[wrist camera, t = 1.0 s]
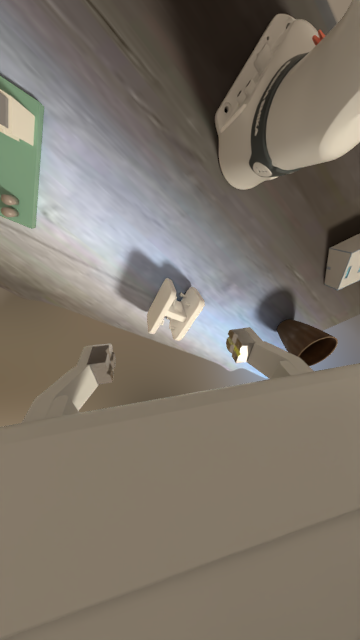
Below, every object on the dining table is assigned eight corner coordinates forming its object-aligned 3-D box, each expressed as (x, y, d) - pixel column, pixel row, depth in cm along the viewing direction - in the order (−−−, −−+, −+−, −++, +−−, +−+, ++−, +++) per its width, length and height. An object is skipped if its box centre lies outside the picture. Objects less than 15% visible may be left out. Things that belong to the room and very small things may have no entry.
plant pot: (303, 327, 74) (337, 353, 61) (272, 344, 77) (299, 372, 64) (299, 305, 66) (338, 329, 53) (265, 324, 68) (294, 352, 55)
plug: (-5, 90, 25) (-44, 60, 20) (34, 116, 27) (9, 94, 22) (-5, 128, 27) (-40, 109, 22) (33, 149, 29) (9, 137, 24)
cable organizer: (166, 272, 48) (173, 288, 39) (196, 286, 52) (208, 304, 43) (146, 312, 54) (147, 335, 45) (173, 322, 59) (180, 345, 49)
